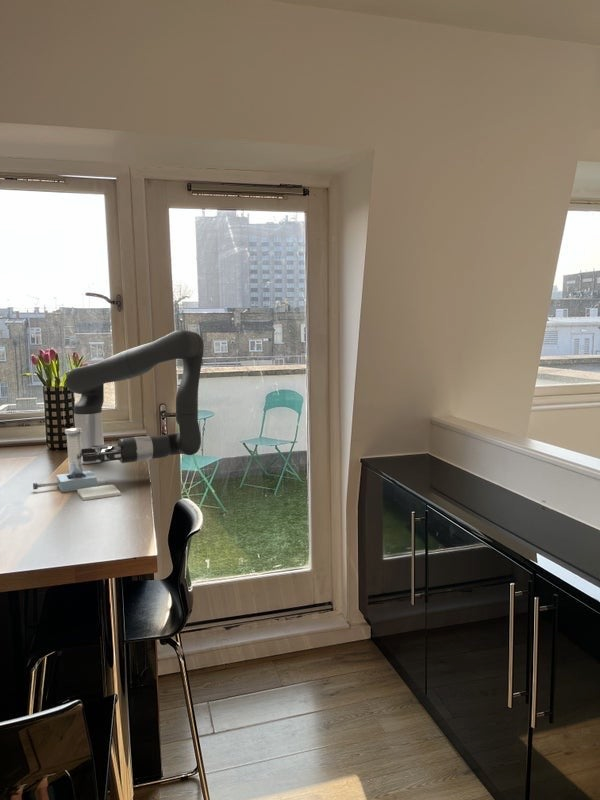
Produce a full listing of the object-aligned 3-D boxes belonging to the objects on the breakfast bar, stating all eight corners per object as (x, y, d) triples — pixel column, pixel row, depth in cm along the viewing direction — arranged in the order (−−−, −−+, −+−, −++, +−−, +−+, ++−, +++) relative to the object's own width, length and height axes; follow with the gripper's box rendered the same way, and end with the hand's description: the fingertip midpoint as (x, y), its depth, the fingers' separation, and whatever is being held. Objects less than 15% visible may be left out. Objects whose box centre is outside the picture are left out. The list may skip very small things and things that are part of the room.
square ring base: (32, 487, 182) (31, 478, 182) (91, 480, 190) (90, 470, 190) (35, 495, 174) (34, 485, 173) (97, 487, 182) (96, 477, 181)
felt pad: (77, 491, 177) (77, 489, 177) (113, 487, 182) (112, 484, 182) (83, 500, 168) (83, 497, 168) (120, 494, 173) (120, 492, 173)
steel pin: (67, 485, 184) (63, 428, 182) (83, 483, 187) (80, 427, 185) (69, 488, 180) (66, 431, 178) (86, 486, 183) (82, 429, 181)
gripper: (129, 433, 197) (75, 439, 189) (140, 440, 184) (83, 446, 176) (130, 457, 198) (77, 463, 190) (142, 465, 185) (85, 472, 177)
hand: (80, 455), depth 183 cm, fingers open, 8 cm apart
